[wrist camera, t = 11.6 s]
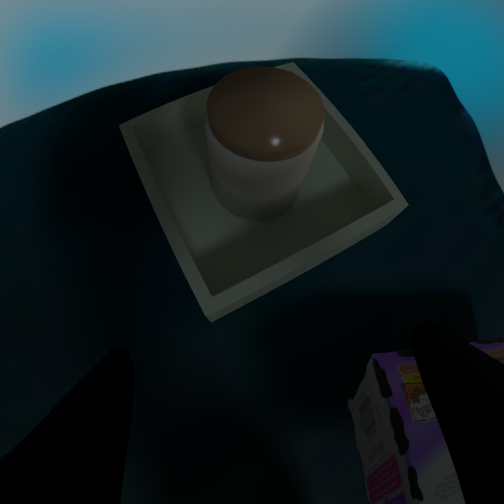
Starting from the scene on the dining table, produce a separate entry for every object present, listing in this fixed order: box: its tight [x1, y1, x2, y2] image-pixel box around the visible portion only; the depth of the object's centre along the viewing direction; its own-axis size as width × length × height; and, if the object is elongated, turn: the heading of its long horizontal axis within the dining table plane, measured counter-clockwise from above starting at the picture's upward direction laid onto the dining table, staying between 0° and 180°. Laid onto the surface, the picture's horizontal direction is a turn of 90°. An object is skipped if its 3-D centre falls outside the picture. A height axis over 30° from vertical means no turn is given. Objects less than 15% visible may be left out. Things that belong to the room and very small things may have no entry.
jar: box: [204, 66, 324, 221], centre depth 19 cm, size 6×6×8 cm
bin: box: [119, 62, 408, 322], centre depth 22 cm, size 15×15×4 cm
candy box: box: [348, 336, 504, 504], centre depth 11 cm, size 14×6×16 cm
